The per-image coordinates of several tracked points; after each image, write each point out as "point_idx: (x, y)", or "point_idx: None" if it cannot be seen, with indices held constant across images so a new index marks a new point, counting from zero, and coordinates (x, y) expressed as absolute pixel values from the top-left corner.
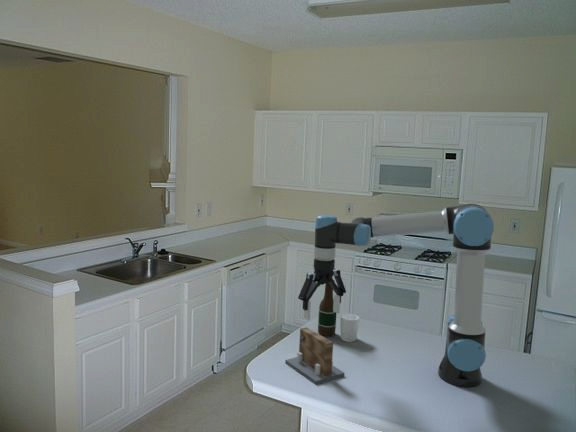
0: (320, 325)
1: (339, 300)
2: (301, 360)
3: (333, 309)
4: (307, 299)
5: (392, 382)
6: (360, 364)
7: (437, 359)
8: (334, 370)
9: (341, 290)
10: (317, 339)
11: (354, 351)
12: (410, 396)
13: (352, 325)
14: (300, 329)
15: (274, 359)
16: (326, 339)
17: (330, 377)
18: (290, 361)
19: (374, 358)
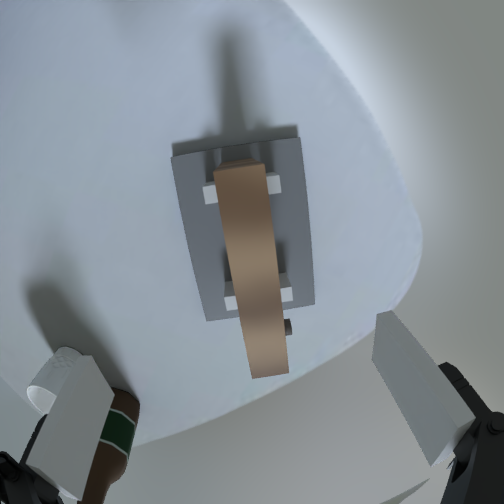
0: (133, 421)
1: (42, 432)
2: (279, 277)
3: (109, 402)
4: (499, 433)
5: (64, 86)
6: (87, 216)
7: None
8: (195, 184)
9: (9, 498)
10: (274, 247)
11: (75, 298)
12: (76, 15)
13: (50, 376)
14: (288, 369)
15: (328, 326)
16: (231, 222)
17: (235, 145)
18: (306, 291)
19: (40, 240)
